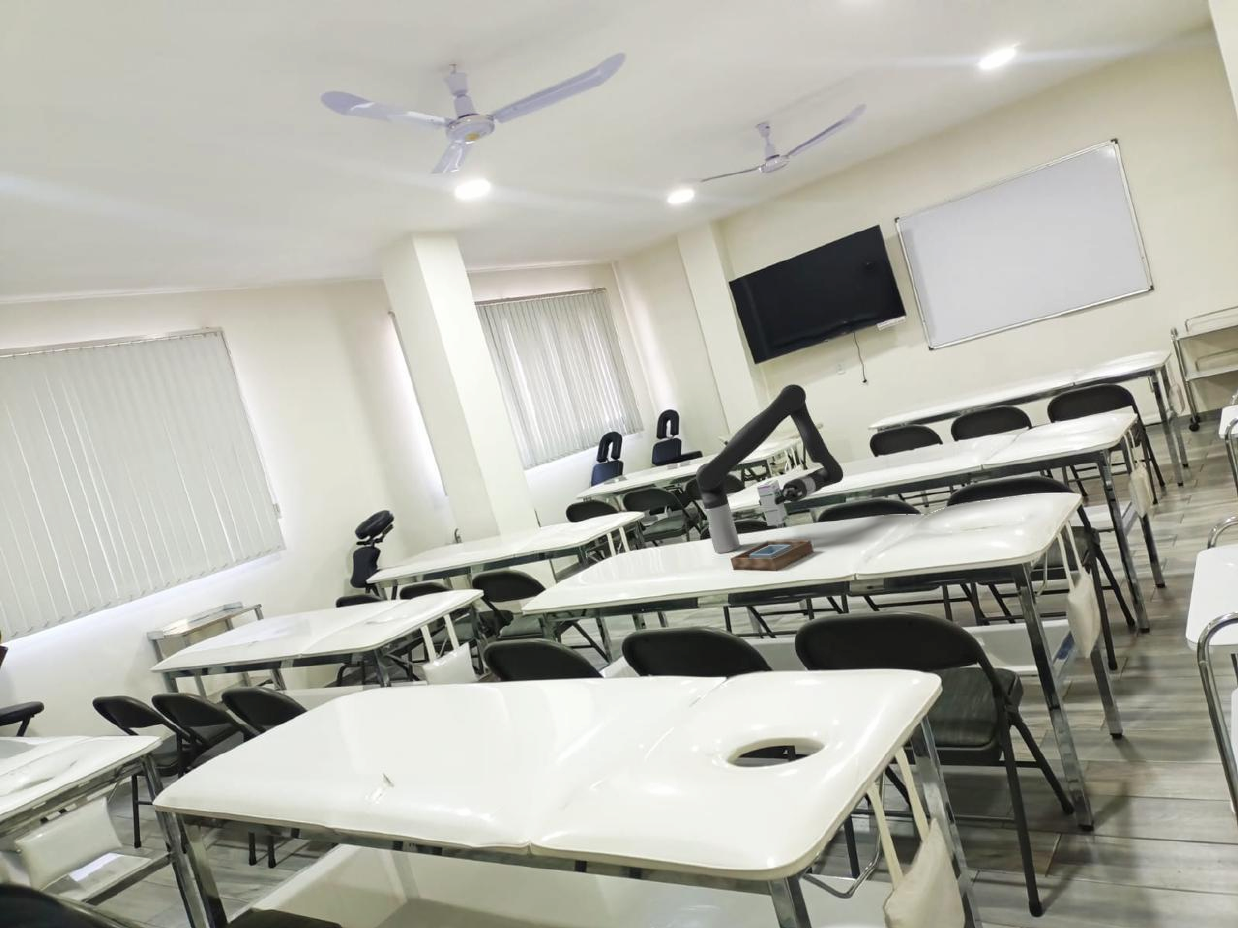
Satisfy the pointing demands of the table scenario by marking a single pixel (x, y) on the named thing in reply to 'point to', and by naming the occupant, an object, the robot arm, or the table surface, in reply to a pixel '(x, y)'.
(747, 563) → the walnut tray
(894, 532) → the table surface
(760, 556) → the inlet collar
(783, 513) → the syrup box
